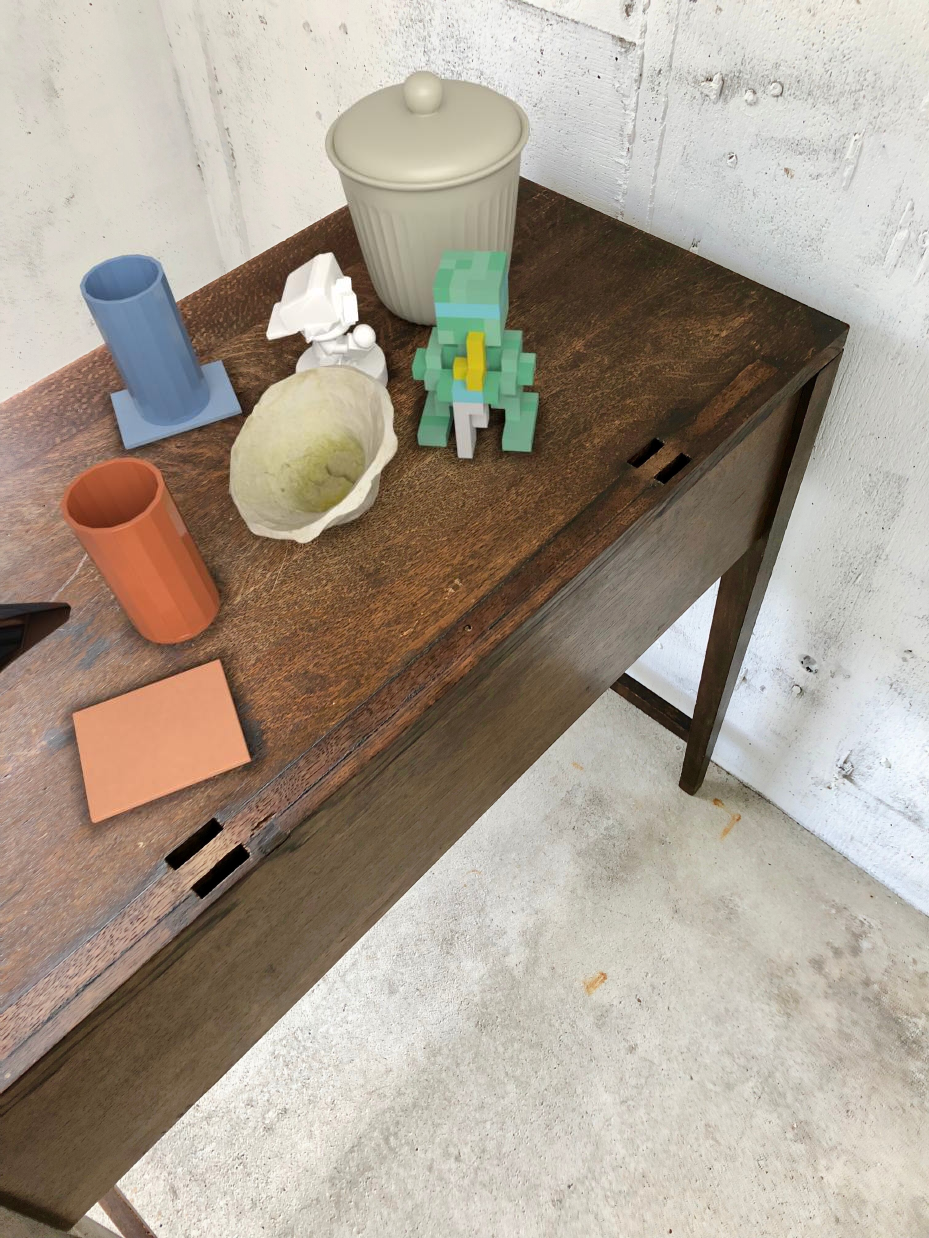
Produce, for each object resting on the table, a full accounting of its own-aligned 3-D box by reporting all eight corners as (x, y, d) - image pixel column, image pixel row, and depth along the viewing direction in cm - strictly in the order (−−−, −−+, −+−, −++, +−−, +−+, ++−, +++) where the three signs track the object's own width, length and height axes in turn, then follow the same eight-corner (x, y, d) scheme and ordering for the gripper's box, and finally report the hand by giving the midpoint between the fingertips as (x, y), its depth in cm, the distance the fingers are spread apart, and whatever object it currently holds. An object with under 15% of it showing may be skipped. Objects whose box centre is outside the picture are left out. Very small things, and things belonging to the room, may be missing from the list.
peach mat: (94, 823, 59) (91, 820, 58) (75, 716, 64) (72, 713, 63) (251, 761, 61) (249, 758, 60) (221, 662, 66) (219, 658, 65)
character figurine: (383, 412, 81) (362, 298, 71) (282, 414, 81) (247, 301, 72) (391, 351, 86) (373, 236, 76) (296, 353, 86) (266, 240, 77)
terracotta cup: (142, 656, 66) (68, 546, 56) (127, 592, 70) (54, 477, 60) (229, 624, 68) (172, 511, 57) (209, 563, 71) (152, 445, 61)
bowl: (212, 498, 76) (173, 408, 67) (347, 424, 80) (326, 331, 72) (301, 604, 68) (269, 518, 60) (445, 516, 73) (433, 425, 64)
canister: (320, 319, 89) (270, 100, 72) (417, 229, 98) (393, 14, 81) (471, 372, 83) (455, 146, 66) (561, 271, 91) (568, 48, 74)
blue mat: (126, 450, 80) (124, 446, 79) (112, 398, 84) (109, 394, 84) (242, 412, 82) (241, 408, 81) (222, 363, 86) (220, 359, 86)
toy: (416, 455, 77) (393, 307, 65) (435, 380, 83) (418, 231, 70) (529, 462, 76) (528, 312, 63) (541, 385, 81) (542, 234, 69)
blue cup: (145, 434, 80) (86, 312, 70) (132, 391, 84) (74, 268, 73) (217, 411, 81) (170, 288, 71) (201, 369, 85) (154, 246, 75)
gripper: (-202, 550, 33) (147, 525, 46) (-378, 363, 41) (-38, 386, 54) (-216, 779, 38) (106, 698, 50) (-373, 571, 45) (-59, 546, 58)
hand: (25, 573), depth 53 cm, fingers open, 9 cm apart
